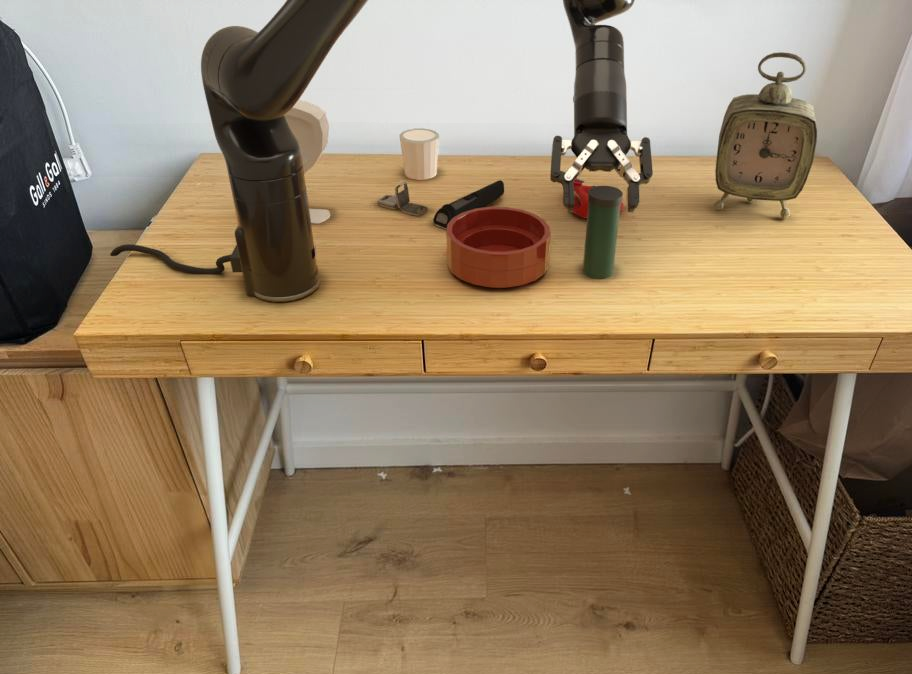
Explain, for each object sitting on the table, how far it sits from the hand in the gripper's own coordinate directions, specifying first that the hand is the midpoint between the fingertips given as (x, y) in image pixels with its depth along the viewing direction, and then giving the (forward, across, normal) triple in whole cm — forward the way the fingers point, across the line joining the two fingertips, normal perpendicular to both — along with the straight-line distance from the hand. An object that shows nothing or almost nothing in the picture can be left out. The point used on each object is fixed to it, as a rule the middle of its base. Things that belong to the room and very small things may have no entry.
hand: (601, 210), depth 114 cm
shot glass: (-16, -28, +29) cm, 43 cm away
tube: (+8, 0, +5) cm, 9 cm away
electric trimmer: (-6, -19, +18) cm, 27 cm away
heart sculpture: (-4, -48, +17) cm, 51 cm away
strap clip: (-6, -30, +19) cm, 36 cm away
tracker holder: (-8, +1, +20) cm, 22 cm away
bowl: (+7, -14, +5) cm, 17 cm away
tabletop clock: (-8, +28, +20) cm, 35 cm away
